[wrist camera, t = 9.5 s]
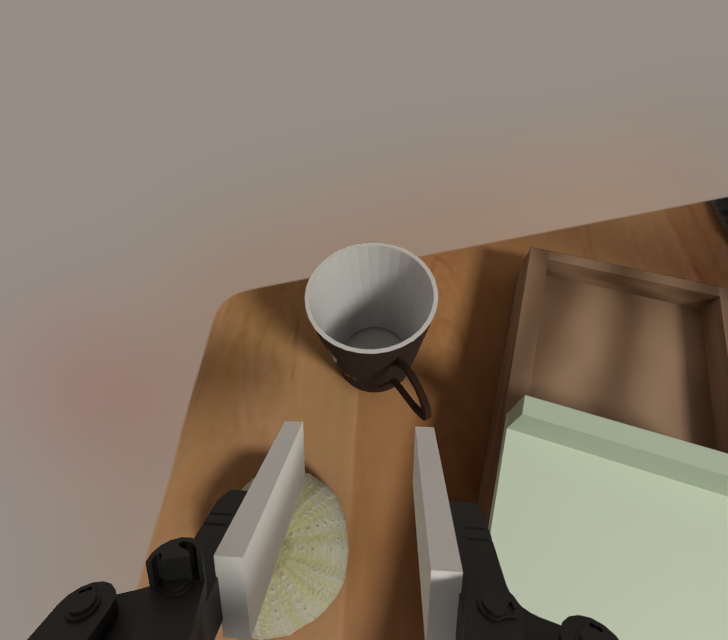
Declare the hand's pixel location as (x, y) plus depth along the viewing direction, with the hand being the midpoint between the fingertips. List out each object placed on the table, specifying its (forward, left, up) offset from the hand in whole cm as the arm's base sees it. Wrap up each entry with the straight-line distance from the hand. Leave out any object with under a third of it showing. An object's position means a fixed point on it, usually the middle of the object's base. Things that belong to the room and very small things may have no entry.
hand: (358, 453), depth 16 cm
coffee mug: (+3, -9, -14) cm, 17 cm away
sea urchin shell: (+4, +5, -14) cm, 16 cm away
